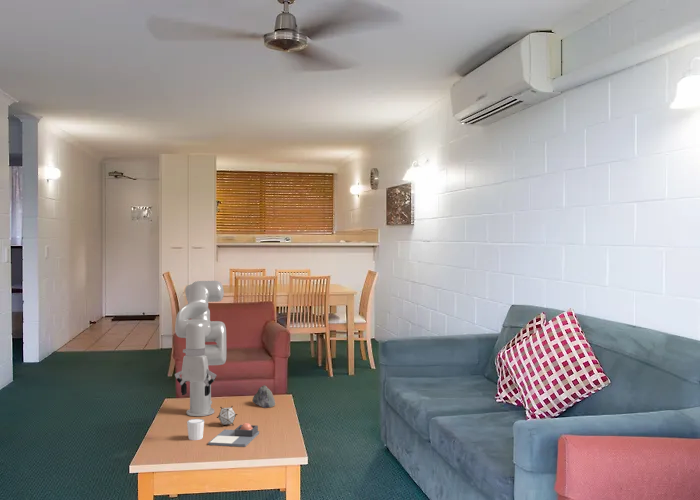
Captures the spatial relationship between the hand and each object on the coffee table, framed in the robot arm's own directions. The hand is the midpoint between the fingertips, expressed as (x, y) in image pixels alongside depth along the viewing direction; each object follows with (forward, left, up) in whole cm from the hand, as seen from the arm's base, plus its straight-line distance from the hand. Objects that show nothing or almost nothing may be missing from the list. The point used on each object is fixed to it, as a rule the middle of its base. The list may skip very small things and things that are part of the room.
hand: (195, 394), depth 261 cm
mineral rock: (-57, +11, -18) cm, 60 cm away
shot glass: (0, 0, -18) cm, 18 cm away
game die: (-20, +6, -18) cm, 28 cm away
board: (-1, +16, -18) cm, 24 cm away
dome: (-6, +19, -16) cm, 26 cm away
